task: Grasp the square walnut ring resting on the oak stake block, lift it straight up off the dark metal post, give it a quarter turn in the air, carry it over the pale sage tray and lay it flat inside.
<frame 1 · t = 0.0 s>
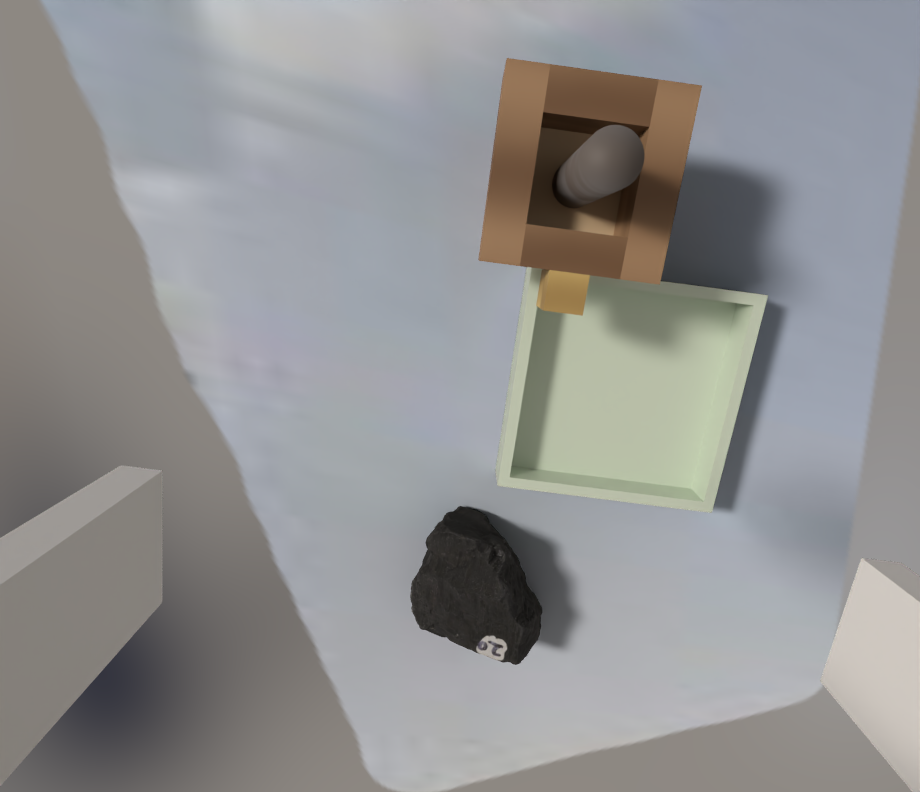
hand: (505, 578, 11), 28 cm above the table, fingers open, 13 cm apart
tray: (615, 385, 38), on the table
mineral: (469, 570, 42), on the table
stake: (557, 196, 35), on the table
ring: (574, 184, 30), point 6 cm above the table, touching stake
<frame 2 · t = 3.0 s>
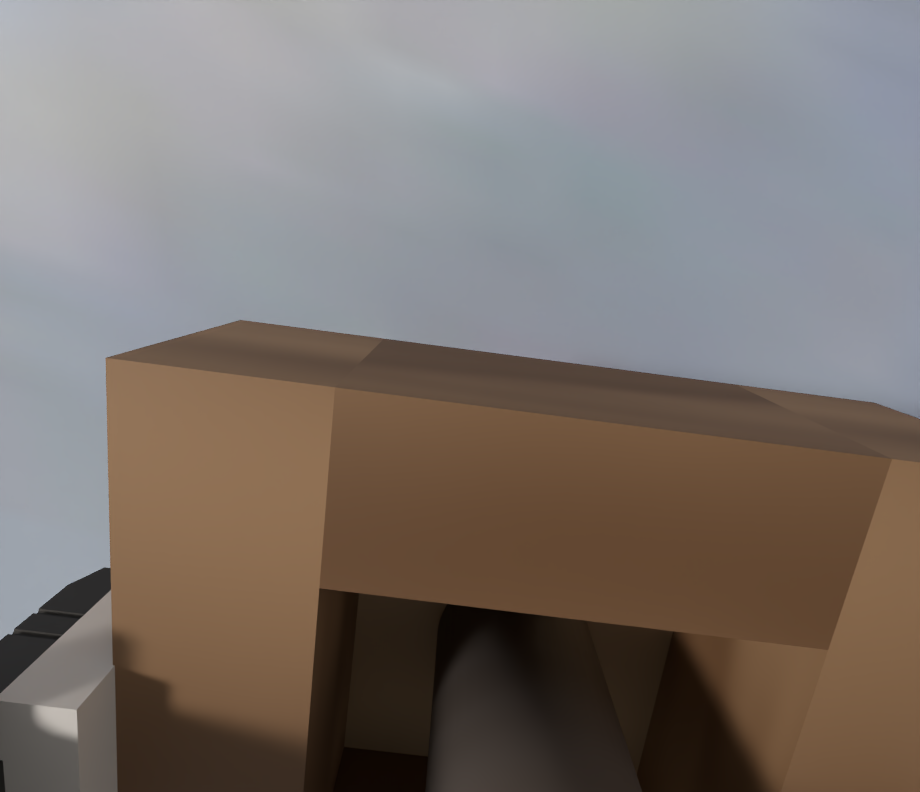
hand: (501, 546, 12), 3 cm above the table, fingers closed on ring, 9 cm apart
stake: (494, 488, 15), on the table
ring: (512, 637, 9), point 6 cm above the table, touching gripper, stake
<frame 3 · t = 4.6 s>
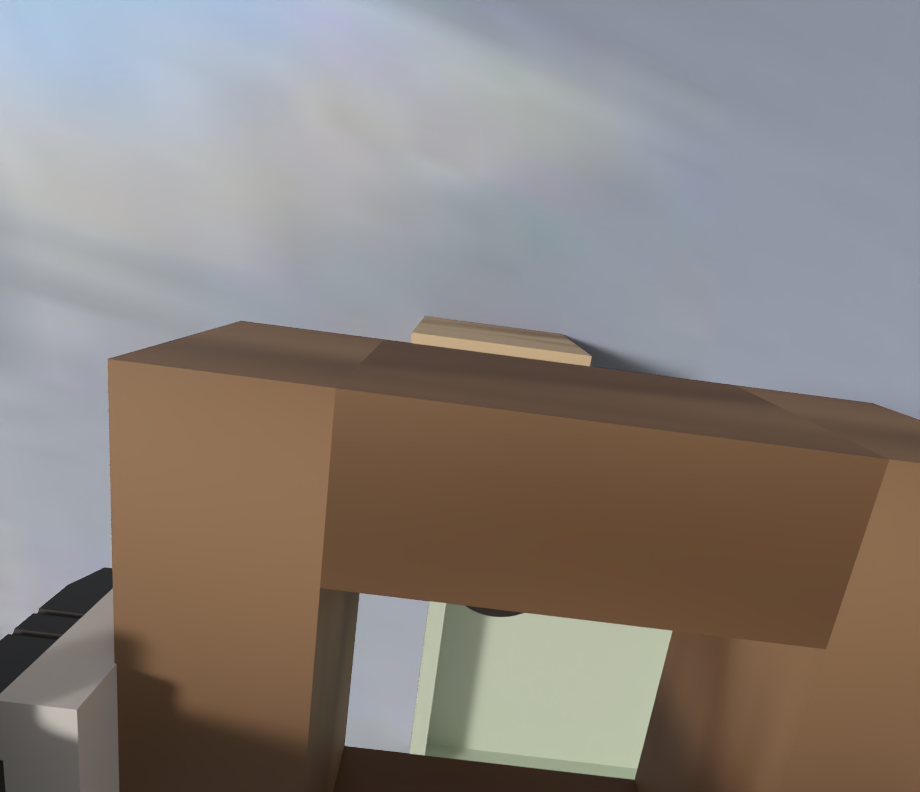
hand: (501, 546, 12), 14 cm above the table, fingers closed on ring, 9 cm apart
tray: (570, 641, 28), on the table
stake: (482, 402, 25), on the table
ring: (512, 637, 9), point 17 cm above the table, touching gripper
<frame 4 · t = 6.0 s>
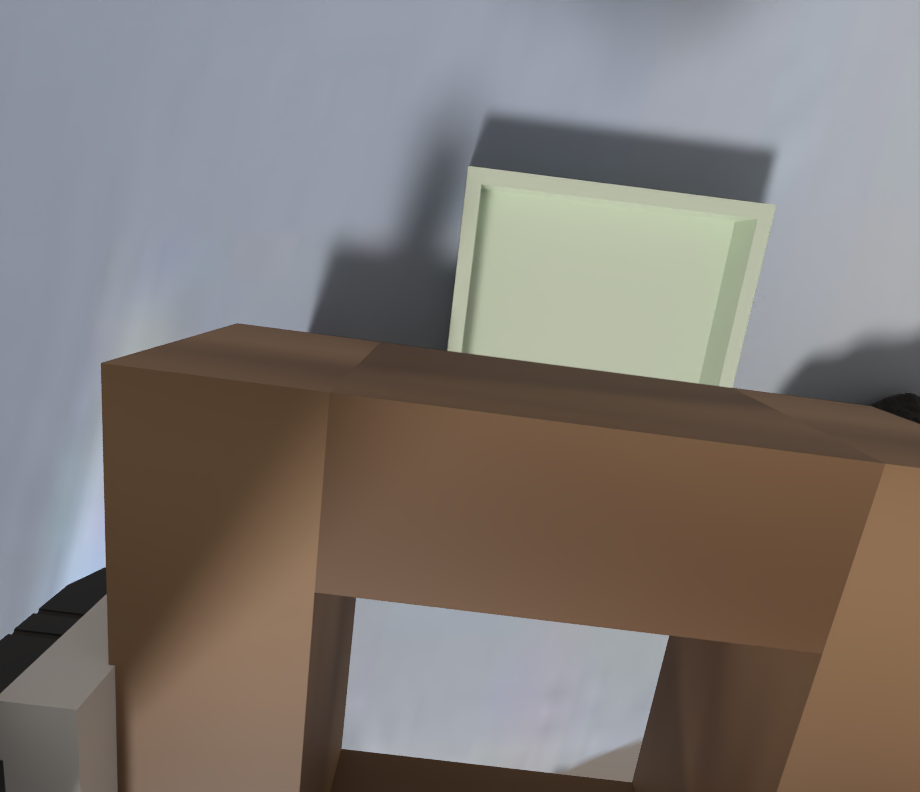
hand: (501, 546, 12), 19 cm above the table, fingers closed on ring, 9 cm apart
tray: (583, 332, 30), on the table
mineral: (825, 472, 33), on the table
ring: (509, 639, 9), point 22 cm above the table, touching gripper
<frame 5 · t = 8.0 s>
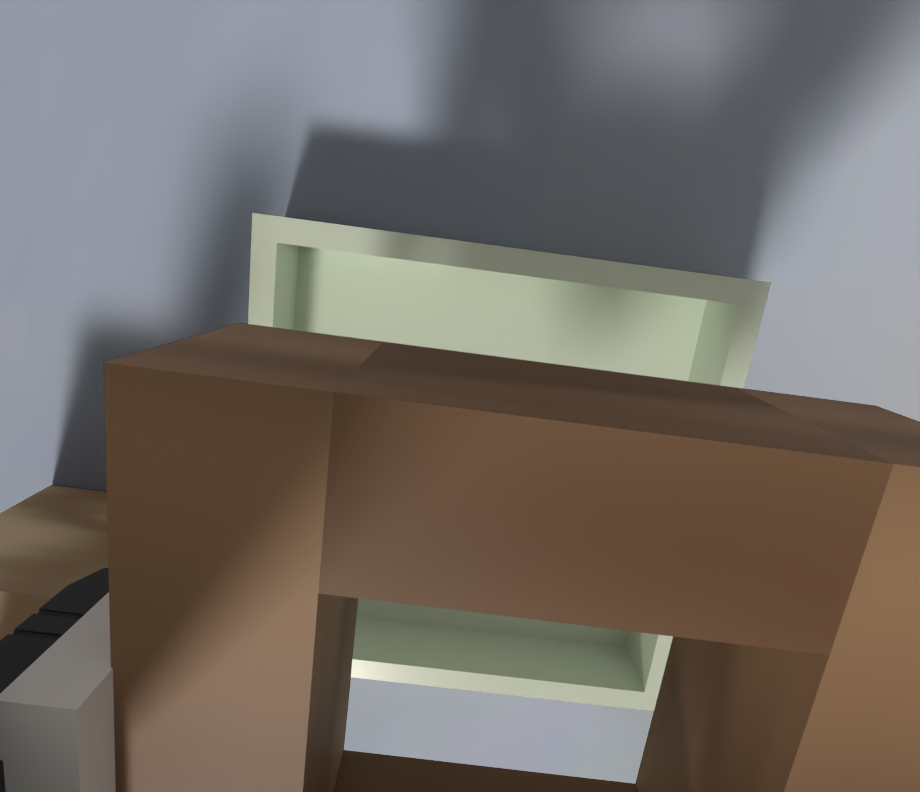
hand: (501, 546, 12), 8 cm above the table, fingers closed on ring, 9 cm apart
tray: (476, 458, 20), on the table
stake: (149, 570, 21), on the table
ring: (512, 640, 9), point 11 cm above the table, touching gripper
when the fingers open (2 cm above the table, at t = 9.4 s): ring drops 5 cm, resting on tray.
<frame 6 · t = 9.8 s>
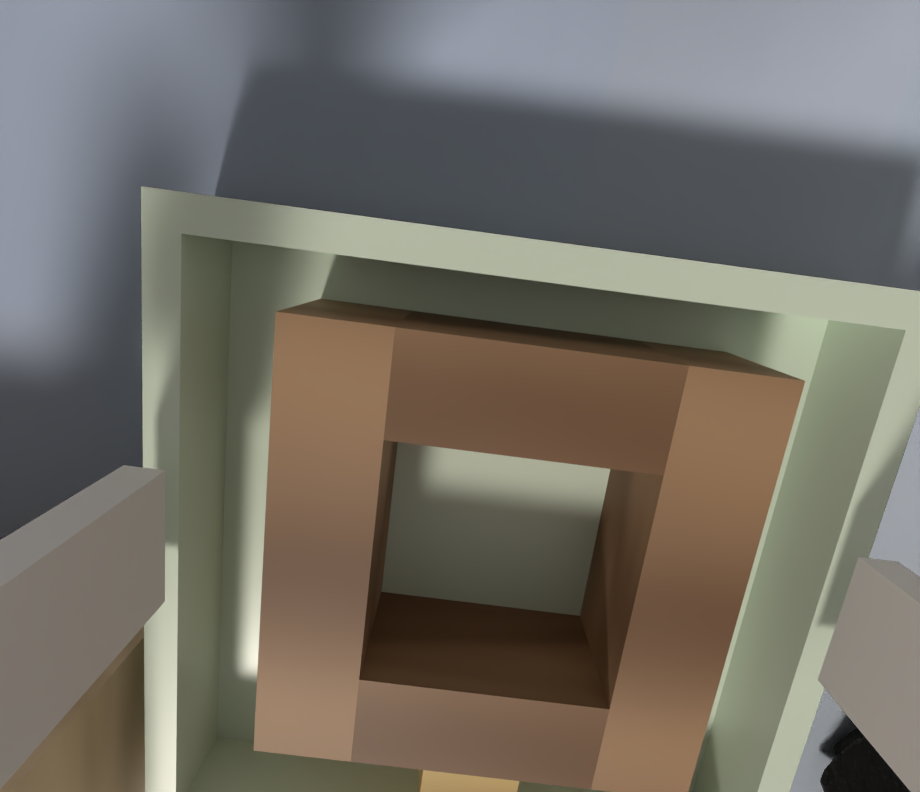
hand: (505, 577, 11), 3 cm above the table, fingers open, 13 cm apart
tray: (490, 536, 14), on the table
stake: (44, 682, 15), on the table
ring: (495, 512, 13), point 1 cm above the table, touching tray
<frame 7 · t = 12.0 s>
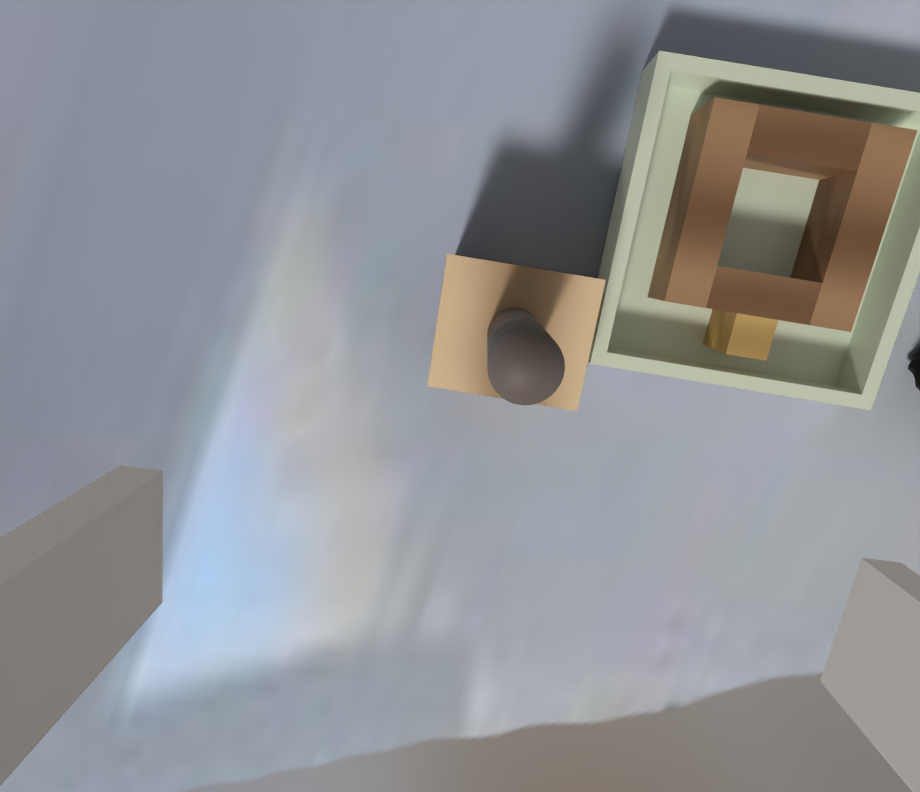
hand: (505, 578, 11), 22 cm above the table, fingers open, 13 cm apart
tray: (745, 243, 30), on the table
stake: (508, 320, 31), on the table
ring: (755, 223, 29), point 1 cm above the table, touching tray
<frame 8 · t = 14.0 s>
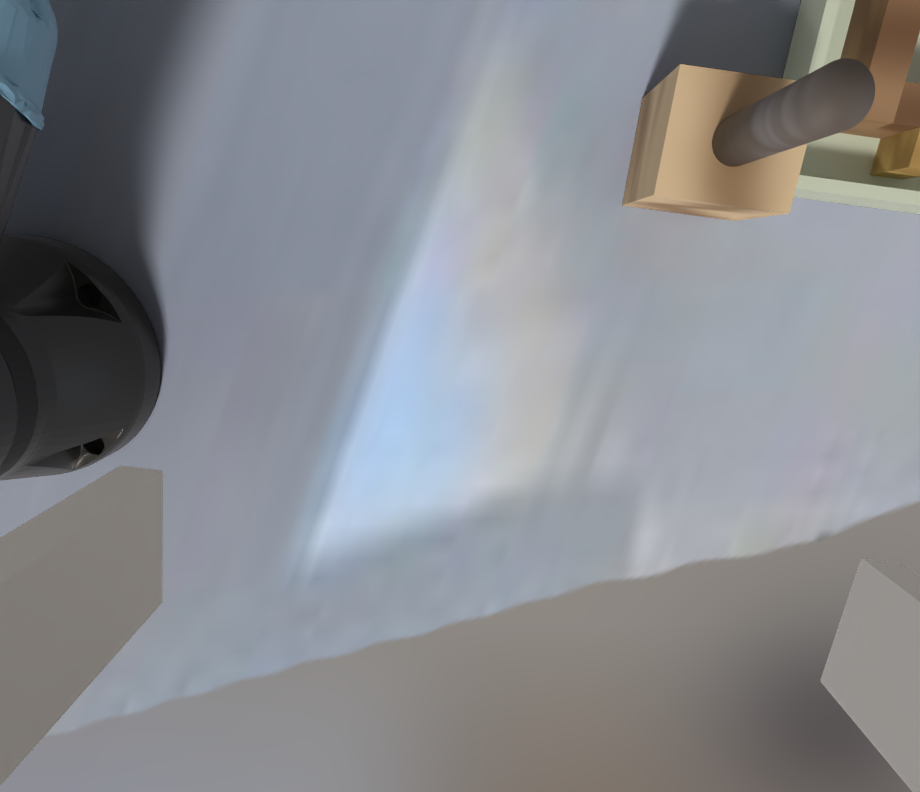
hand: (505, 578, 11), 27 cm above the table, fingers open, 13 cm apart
tray: (909, 77, 32), on the table
stake: (689, 160, 34), on the table
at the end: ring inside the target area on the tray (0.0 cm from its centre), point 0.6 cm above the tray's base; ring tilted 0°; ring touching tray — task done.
